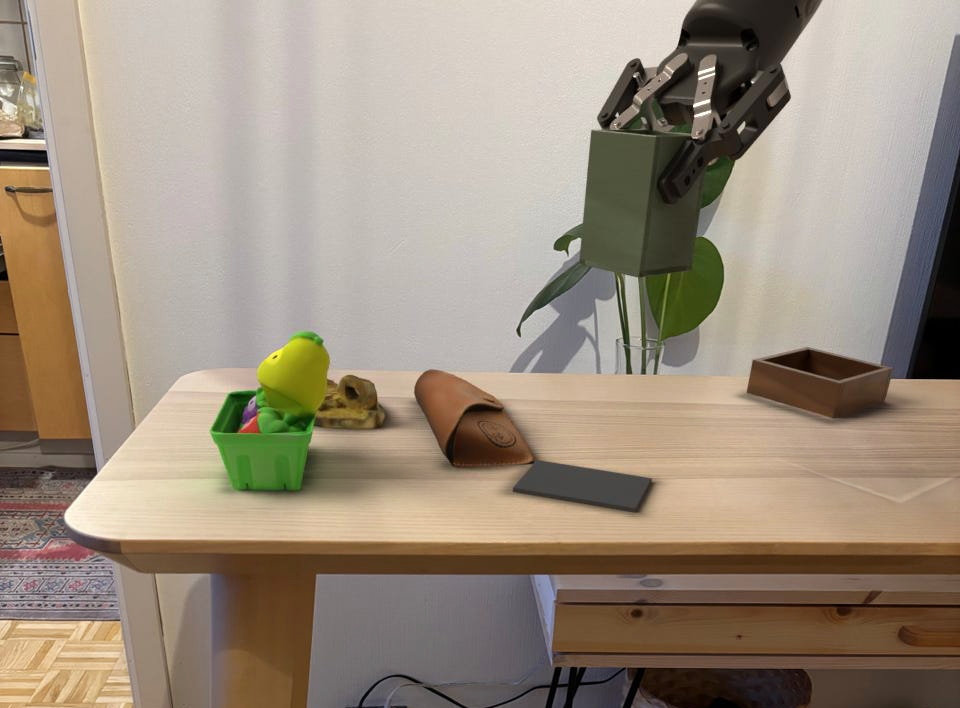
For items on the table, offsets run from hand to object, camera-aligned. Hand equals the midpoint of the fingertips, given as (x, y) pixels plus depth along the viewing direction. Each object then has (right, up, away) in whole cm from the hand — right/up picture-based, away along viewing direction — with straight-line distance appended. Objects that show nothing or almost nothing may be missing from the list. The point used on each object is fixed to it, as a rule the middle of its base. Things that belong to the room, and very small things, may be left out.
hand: (629, 189), depth 68 cm
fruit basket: (-27, -19, +11) cm, 34 cm away
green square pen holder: (+1, -4, +4) cm, 6 cm away
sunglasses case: (-12, -13, +21) cm, 27 cm away
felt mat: (-2, -20, +10) cm, 22 cm away
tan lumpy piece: (-26, -10, +25) cm, 37 cm away
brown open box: (+25, -7, +34) cm, 43 cm away
